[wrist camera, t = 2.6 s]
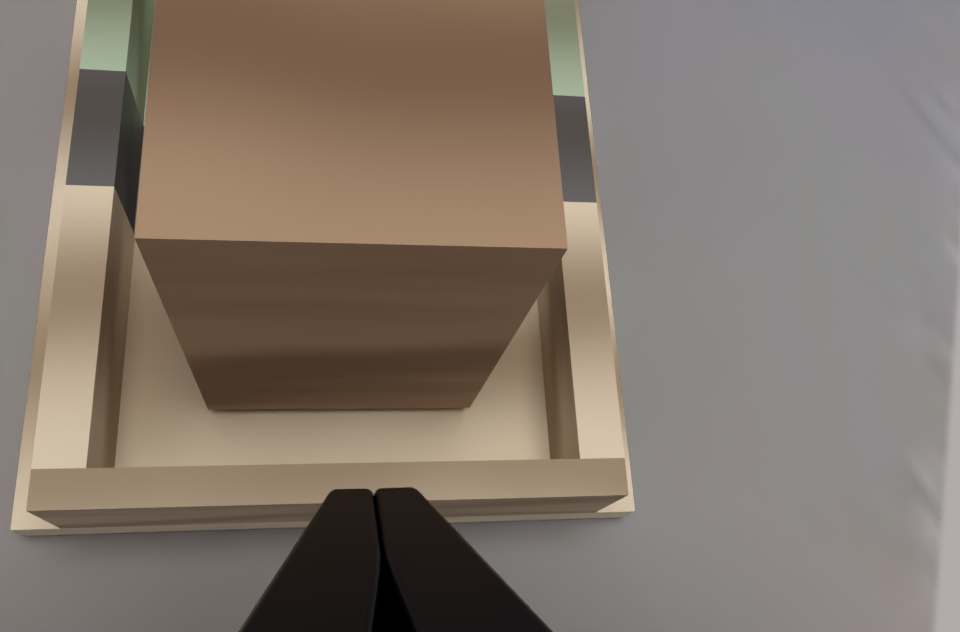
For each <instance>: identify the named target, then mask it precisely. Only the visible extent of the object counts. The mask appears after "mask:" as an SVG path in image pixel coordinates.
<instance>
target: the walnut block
mask: <svg viewBox="0 0 960 632" xmlns="http://www.w3.org/2000/svg"><path fill="white" fill-rule="evenodd" d="M134 238H135V241H136V243H137V245H138V248H139V250H140V252H141V255H142V257H143V259H144V262H145V264H146V266H147V269H148V271H149V273H150V276H151V278H152V280H153V283H154V285H155V287H156V290H157V292H158V294H159V297H160V299H161V301H162V304H163V306H164V308H165V311H166V313H167V315H168V318H169V320H170V322H171V325H172V327H173V329H174V332H175V334H176V336H177V339H178V341H179V343H180V346H181V348H182V350H183V353H184V355H185V357H186V359H187V362H188V364H189V366H190V369H191V371H192V373H193V376H194V378H195V380H196V383H197V385H198V387H199V390H200V392H201V394H202V397H203V399H204V401H205V404H206V406H207V408H208V410H238V409H361V408H470V406H471V405H472V403H473V402H474V400H475V398H476V397H477V395H478V393H479V392H480V390H481V389H482V387H483V385H484V384H485V382H486V381H487V379H488V377H489V376H490V374H491V372H492V371H493V369H494V368H495V366H496V364H497V363H498V361H499V359H500V358H501V356H502V355H503V353H504V351H505V350H506V348H507V346H508V345H509V343H510V342H511V340H512V338H513V337H514V335H515V334H516V332H517V330H518V329H519V327H520V325H521V324H522V322H523V321H524V319H525V317H526V316H527V314H528V312H529V311H530V309H531V308H532V306H533V304H534V303H535V301H536V299H537V298H538V296H539V295H540V293H541V291H542V290H543V288H544V287H545V285H546V283H547V282H548V280H549V278H550V277H551V275H552V274H553V272H554V270H555V269H556V267H557V265H558V264H559V262H560V261H561V259H562V257H563V256H564V254H565V252H566V251H567V249H568V245H567V234H566V224H565V213H564V203H563V192H562V182H561V171H560V161H559V150H558V140H557V129H556V119H555V109H554V98H553V88H552V77H551V67H550V56H549V46H548V35H547V25H546V14H545V4H544V0H156V1H155V12H154V24H153V35H152V46H151V57H150V68H149V80H148V91H147V102H146V113H145V125H144V136H143V147H142V158H141V170H140V181H139V192H138V203H137V214H136V226H135V237H134Z"/></svg>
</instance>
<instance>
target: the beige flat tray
mask: <svg viewBox="0 0 960 632" xmlns="http://www.w3.org/2000/svg"><path fill="white" fill-rule="evenodd" d="M155 1H156V0H77V7H76V15H75V22H74V30H73V38H72V46H71V54H70V62H69V70H68V78H67V86H66V94H65V102H64V110H63V117H62V125H61V133H60V141H59V149H58V157H57V165H56V173H55V181H54V189H53V197H52V205H51V213H50V220H49V228H48V236H47V244H46V252H45V260H44V268H43V276H42V284H41V292H40V300H39V308H38V316H37V323H36V331H35V339H34V347H33V355H32V363H31V371H30V379H29V387H28V395H27V403H26V411H25V418H24V426H23V434H22V442H21V450H20V458H19V466H18V474H17V482H16V490H15V498H14V506H13V514H12V521H11V529H10V530H12V531H14V532H16V533H19V534H21V535H23V536H37V535H69V534H102V533H134V532H166V531H198V530H230V529H263V528H295V527H307V526H308V524H309V523H310V521H311V520H312V518H313V517H314V515H315V514H316V512H317V511H318V509H319V507H320V506H321V504H322V503H323V501H324V500H325V498H326V497H327V495H328V494H329V493H330V492H331V491H332V490H334V489H363V488H366V489H369V490H371V491H372V493H373V495H374V493H375V491H376V490H378V489H379V488H402V487H412V488H415V489H417V490H418V491H419V492H420V493H421V494H422V495H423V496H424V497H425V498H426V499H427V500H428V501H429V502H430V503H431V504H432V505H433V506H434V507H435V509H436V510H437V511H438V512H439V513H440V514H441V515H442V516H443V517H444V518H445V519H446V520H447V521H448V522H449V523H456V522H488V521H520V520H552V519H584V518H617V517H624V516H626V515H628V514H630V513H632V512H635V507H634V498H633V489H632V480H631V471H630V462H629V453H628V445H627V436H626V427H625V418H624V409H623V400H622V391H621V382H620V373H619V364H618V355H617V346H616V337H615V328H614V319H613V310H612V301H611V292H610V283H609V274H608V265H607V256H606V247H605V238H604V229H603V220H602V212H601V203H600V194H599V185H598V176H597V167H596V158H595V149H594V140H593V131H592V122H591V113H590V104H589V95H588V86H587V77H586V68H585V59H584V50H583V41H582V32H581V23H580V14H579V5H578V0H544V4H545V14H546V25H547V35H548V46H549V56H550V67H551V77H552V88H553V98H554V109H555V119H556V129H557V140H558V150H559V161H560V171H561V182H562V192H563V203H564V213H565V224H566V234H567V245H568V249H567V251H566V252H565V254H564V256H563V257H562V259H561V261H560V262H559V264H558V265H557V267H556V269H555V270H554V272H553V274H552V275H551V277H550V278H549V280H548V282H547V283H546V285H545V287H544V288H543V290H542V291H541V293H540V295H539V296H538V298H537V299H536V301H535V303H534V304H533V306H532V308H531V309H530V311H529V312H528V314H527V316H526V317H525V319H524V321H523V322H522V324H521V325H520V327H519V329H518V330H517V332H516V334H515V335H514V337H513V338H512V340H511V342H510V343H509V345H508V346H507V348H506V350H505V351H504V353H503V355H502V356H501V358H500V359H499V361H498V363H497V364H496V366H495V368H494V369H493V371H492V372H491V374H490V376H489V377H488V379H487V381H486V382H485V384H484V385H483V387H482V389H481V390H480V392H479V393H478V395H477V397H476V398H475V400H474V402H473V403H472V405H471V406H470V408H361V409H238V410H208V408H207V406H206V404H205V401H204V399H203V397H202V394H201V392H200V390H199V387H198V385H197V383H196V380H195V378H194V376H193V373H192V371H191V369H190V366H189V364H188V362H187V359H186V357H185V355H184V353H183V350H182V348H181V346H180V343H179V341H178V339H177V336H176V334H175V332H174V329H173V327H172V325H171V322H170V320H169V318H168V315H167V313H166V311H165V308H164V306H163V304H162V301H161V299H160V297H159V294H158V292H157V290H156V287H155V285H154V283H153V280H152V278H151V276H150V273H149V271H148V269H147V266H146V264H145V262H144V259H143V257H142V255H141V252H140V250H139V248H138V245H137V243H136V241H135V238H134V237H135V226H136V214H137V203H138V192H139V181H140V170H141V158H142V147H143V136H144V125H145V113H146V102H147V91H148V80H149V68H150V57H151V46H152V35H153V24H154V12H155Z"/></svg>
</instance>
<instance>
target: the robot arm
mask: <svg viewBox="0 0 960 632" xmlns="http://www.w3.org/2000/svg"><path fill="white" fill-rule="evenodd" d="M239 632H553V631H552V630H551V629H550V628H549V627H548V626H547V625H546V624H545V623H544V622H543V621H542V620H541V619H540V618H539V617H538V616H537V614H536V613H535V612H534V611H533V610H532V609H531V608H530V607H529V606H528V605H527V604H526V603H525V602H524V601H523V600H522V599H521V598H520V597H519V596H518V595H517V594H516V592H515V591H514V590H513V589H512V588H511V587H510V586H509V585H508V584H507V583H506V582H505V581H504V580H503V579H502V578H501V577H500V576H499V575H498V574H497V573H496V571H495V570H494V569H493V568H492V567H491V566H490V565H489V564H488V563H487V562H486V561H485V560H484V559H483V558H482V557H481V556H480V555H479V554H478V553H477V552H476V550H475V549H474V548H473V547H472V546H471V545H470V544H469V543H468V542H467V541H466V540H465V539H464V538H463V537H462V536H461V535H460V534H459V533H458V532H457V531H456V530H455V528H454V527H453V526H452V525H451V524H450V523H449V522H448V521H447V520H446V519H445V518H444V517H443V516H442V515H441V514H440V513H439V512H438V511H437V510H436V509H435V507H434V506H433V505H432V504H431V503H430V502H429V501H428V500H427V499H426V498H425V497H424V496H423V495H422V494H421V493H420V492H419V491H418V490H417V489H415V488H412V487H402V488H379V489H378V490H376V491H375V493H374V495H373V493H372V491H371V490H369V489H366V488H363V489H334V490H332V491H331V492H330V493H329V494H328V495H327V497H326V498H325V500H324V501H323V503H322V504H321V506H320V507H319V509H318V511H317V512H316V514H315V515H314V517H313V518H312V520H311V521H310V523H309V524H308V526H307V527H306V529H305V530H304V532H303V534H302V535H301V537H300V538H299V540H298V541H297V543H296V544H295V546H294V547H293V549H292V550H291V552H290V554H289V555H288V557H287V558H286V560H285V561H284V563H283V564H282V566H281V567H280V569H279V570H278V572H277V573H276V575H275V577H274V578H273V580H272V581H271V583H270V584H269V586H268V587H267V589H266V590H265V592H264V593H263V595H262V597H261V598H260V600H259V601H258V603H257V604H256V606H255V607H254V609H253V610H252V612H251V613H250V615H249V617H248V618H247V620H246V621H245V623H244V624H243V626H242V627H241V629H240V630H239Z"/></svg>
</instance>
